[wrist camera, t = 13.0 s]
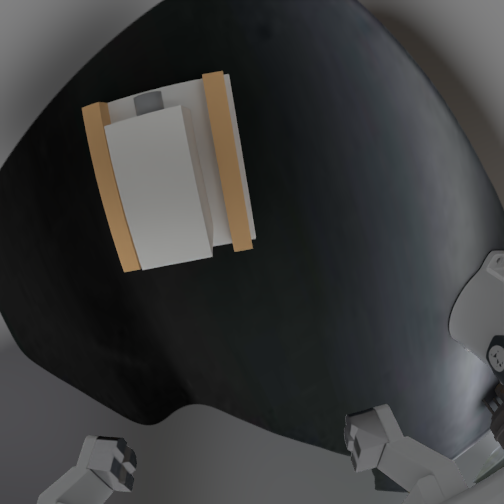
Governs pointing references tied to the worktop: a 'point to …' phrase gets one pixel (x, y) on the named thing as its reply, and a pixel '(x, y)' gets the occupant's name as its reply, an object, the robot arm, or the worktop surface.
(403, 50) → the worktop surface
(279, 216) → the worktop surface
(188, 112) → the white block with knob
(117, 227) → the white tray with rails
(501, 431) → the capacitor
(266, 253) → the worktop surface
